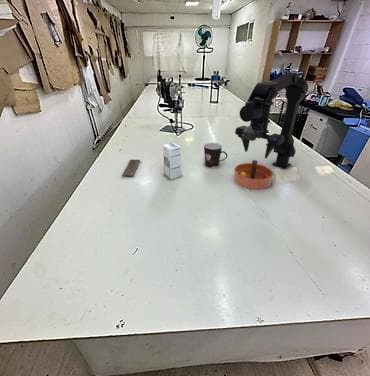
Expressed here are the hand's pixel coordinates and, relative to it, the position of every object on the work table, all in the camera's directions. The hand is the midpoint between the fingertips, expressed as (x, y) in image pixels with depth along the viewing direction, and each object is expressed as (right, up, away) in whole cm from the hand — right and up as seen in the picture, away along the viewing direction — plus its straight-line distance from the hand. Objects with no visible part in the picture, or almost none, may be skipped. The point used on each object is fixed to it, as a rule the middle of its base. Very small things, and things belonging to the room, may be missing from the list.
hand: (255, 154), depth 96 cm
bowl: (0, -11, +5) cm, 12 cm away
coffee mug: (-15, -5, +18) cm, 25 cm away
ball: (-4, -9, +6) cm, 11 cm away
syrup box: (-35, -9, +9) cm, 37 cm away
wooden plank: (-54, -7, +15) cm, 57 cm away
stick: (0, -11, +5) cm, 12 cm away
